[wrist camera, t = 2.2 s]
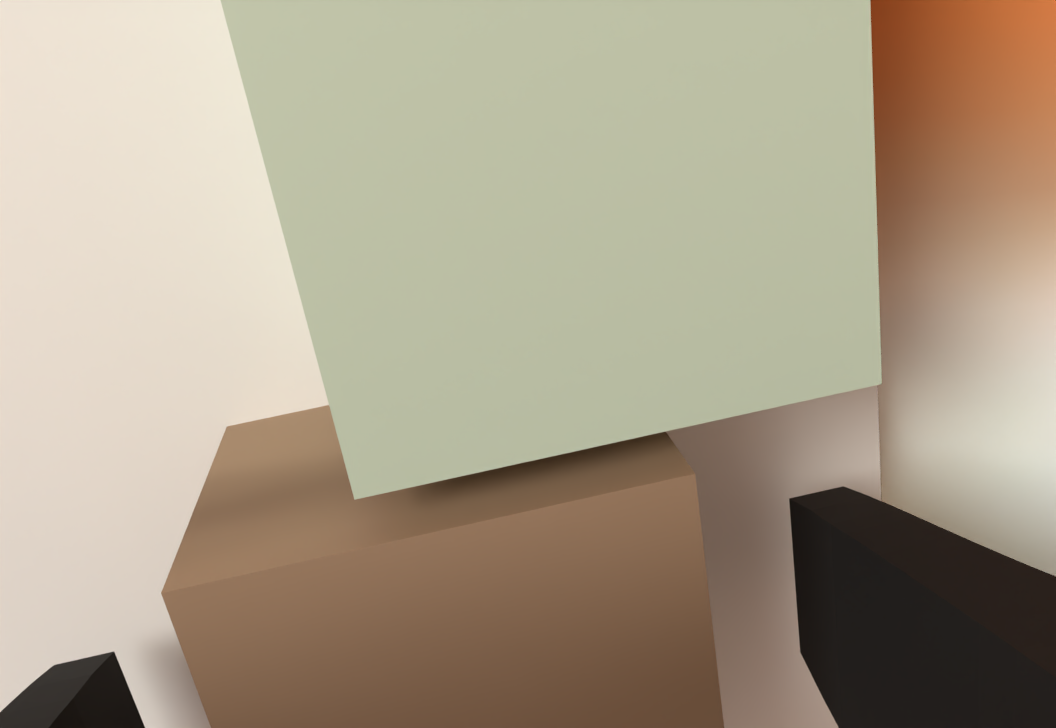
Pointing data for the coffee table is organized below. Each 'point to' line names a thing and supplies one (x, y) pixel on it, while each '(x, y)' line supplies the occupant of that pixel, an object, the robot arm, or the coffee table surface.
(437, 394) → the sage brick
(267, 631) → the walnut brick
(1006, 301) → the coffee table surface
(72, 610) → the board
